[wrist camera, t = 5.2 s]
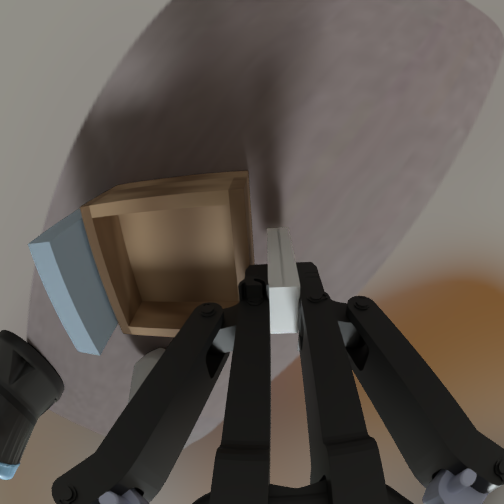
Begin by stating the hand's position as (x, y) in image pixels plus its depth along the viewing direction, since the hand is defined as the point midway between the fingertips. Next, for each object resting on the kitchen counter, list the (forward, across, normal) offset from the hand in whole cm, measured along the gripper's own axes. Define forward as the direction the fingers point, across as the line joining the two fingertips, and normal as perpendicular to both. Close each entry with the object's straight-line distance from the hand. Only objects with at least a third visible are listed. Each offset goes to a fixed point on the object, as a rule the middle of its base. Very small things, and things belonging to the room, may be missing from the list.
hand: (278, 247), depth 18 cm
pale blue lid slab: (+2, -12, 0) cm, 13 cm away
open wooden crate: (+2, -6, 0) cm, 7 cm away
